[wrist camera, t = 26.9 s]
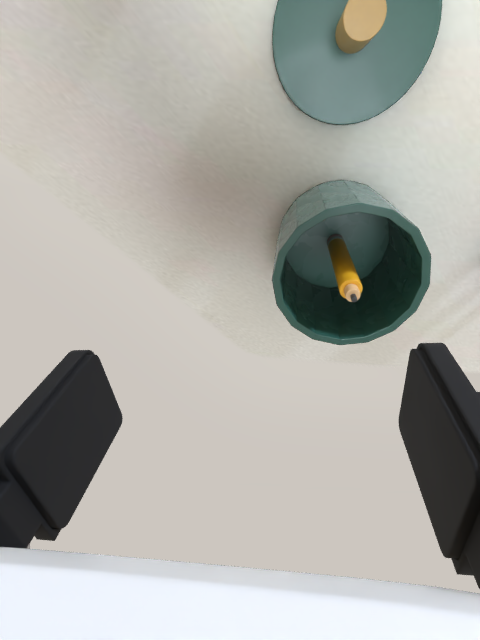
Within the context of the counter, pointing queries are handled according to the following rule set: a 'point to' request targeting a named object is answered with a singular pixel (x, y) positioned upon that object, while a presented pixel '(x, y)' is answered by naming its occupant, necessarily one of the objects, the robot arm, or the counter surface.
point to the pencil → (344, 269)
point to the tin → (367, 256)
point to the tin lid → (352, 53)
